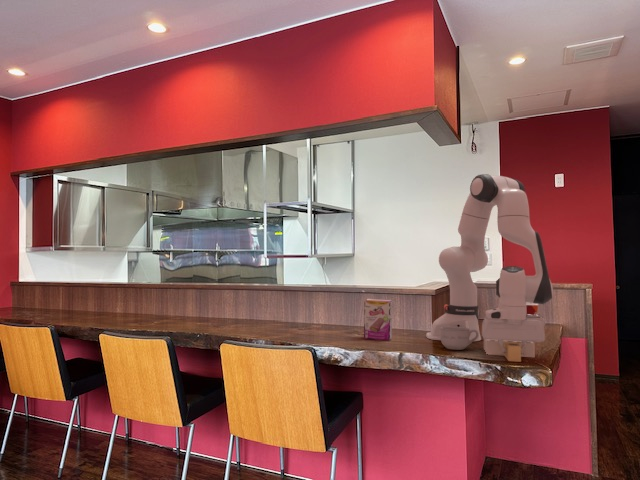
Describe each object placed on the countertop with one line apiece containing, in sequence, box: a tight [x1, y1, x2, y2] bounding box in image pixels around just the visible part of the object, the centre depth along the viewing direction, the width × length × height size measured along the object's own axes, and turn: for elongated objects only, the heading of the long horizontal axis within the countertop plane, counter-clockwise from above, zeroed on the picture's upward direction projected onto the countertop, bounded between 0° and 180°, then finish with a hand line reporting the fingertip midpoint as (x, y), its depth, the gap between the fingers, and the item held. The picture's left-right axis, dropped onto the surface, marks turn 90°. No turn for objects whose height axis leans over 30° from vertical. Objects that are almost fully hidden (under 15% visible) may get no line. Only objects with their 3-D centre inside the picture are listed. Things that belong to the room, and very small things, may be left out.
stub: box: [504, 342, 522, 363], centre depth 156 cm, size 4×8×5 cm, turn 166°
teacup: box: [440, 327, 479, 351], centre depth 171 cm, size 14×11×8 cm
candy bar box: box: [363, 298, 393, 342], centre depth 188 cm, size 11×5×16 cm, turn 71°
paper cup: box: [526, 302, 539, 318], centre depth 208 cm, size 8×8×14 cm
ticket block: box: [483, 338, 536, 358], centre depth 164 cm, size 16×9×5 cm, turn 76°
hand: (512, 353), depth 156 cm, fingers closed on stub, 4 cm apart
